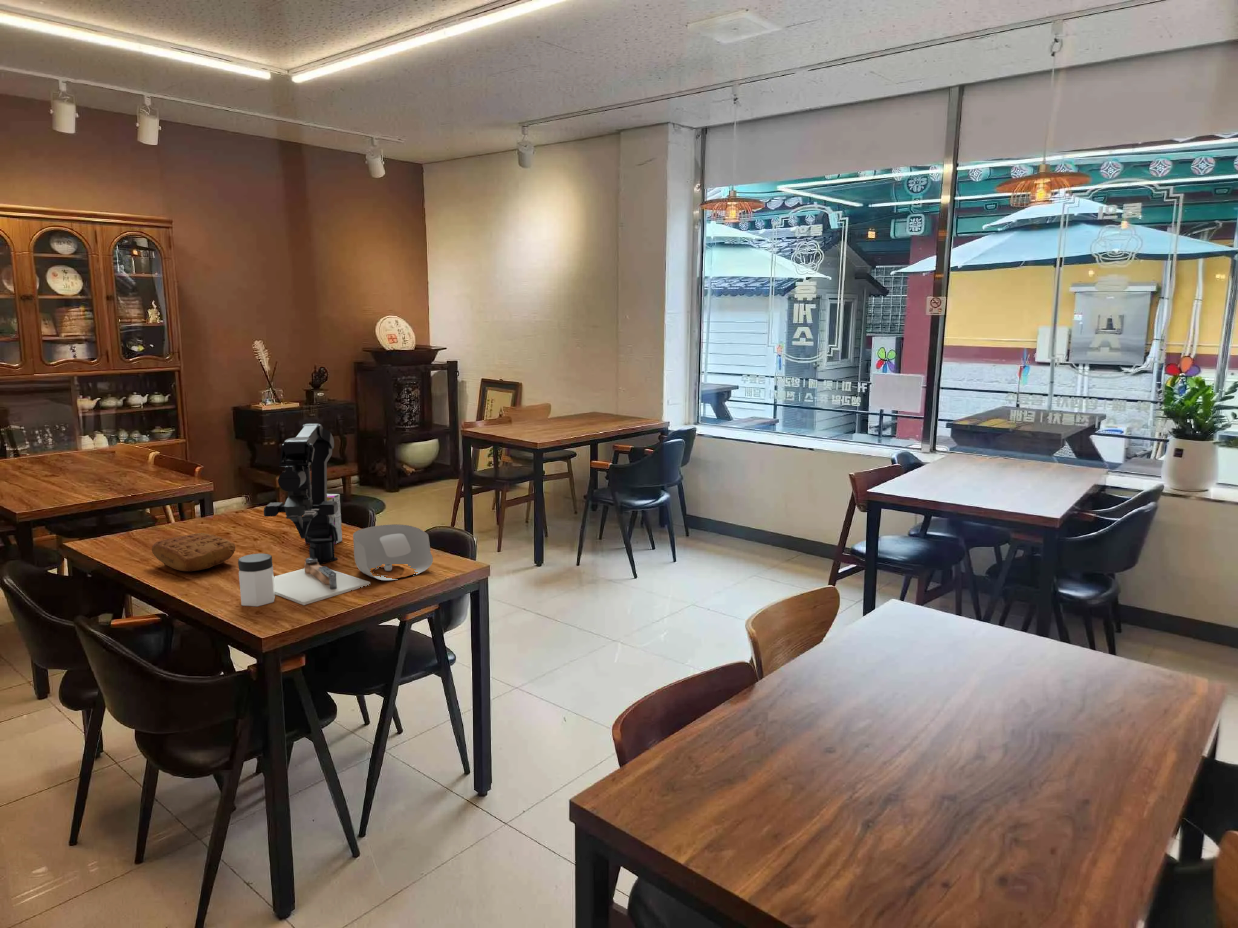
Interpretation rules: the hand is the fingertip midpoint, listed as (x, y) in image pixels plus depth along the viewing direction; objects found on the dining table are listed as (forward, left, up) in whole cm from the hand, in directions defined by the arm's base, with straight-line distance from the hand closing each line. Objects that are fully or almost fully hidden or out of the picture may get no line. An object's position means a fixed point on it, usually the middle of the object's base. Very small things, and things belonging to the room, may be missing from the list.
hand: (303, 538), depth 222 cm
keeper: (-3, +4, -12) cm, 13 cm away
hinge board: (+1, +3, -13) cm, 13 cm away
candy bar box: (-27, -33, -13) cm, 44 cm away
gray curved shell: (-21, +10, -13) cm, 27 cm away
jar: (+16, +4, -13) cm, 21 cm away
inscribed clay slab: (+11, -41, -13) cm, 44 cm away
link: (-3, +2, -12) cm, 12 cm away
